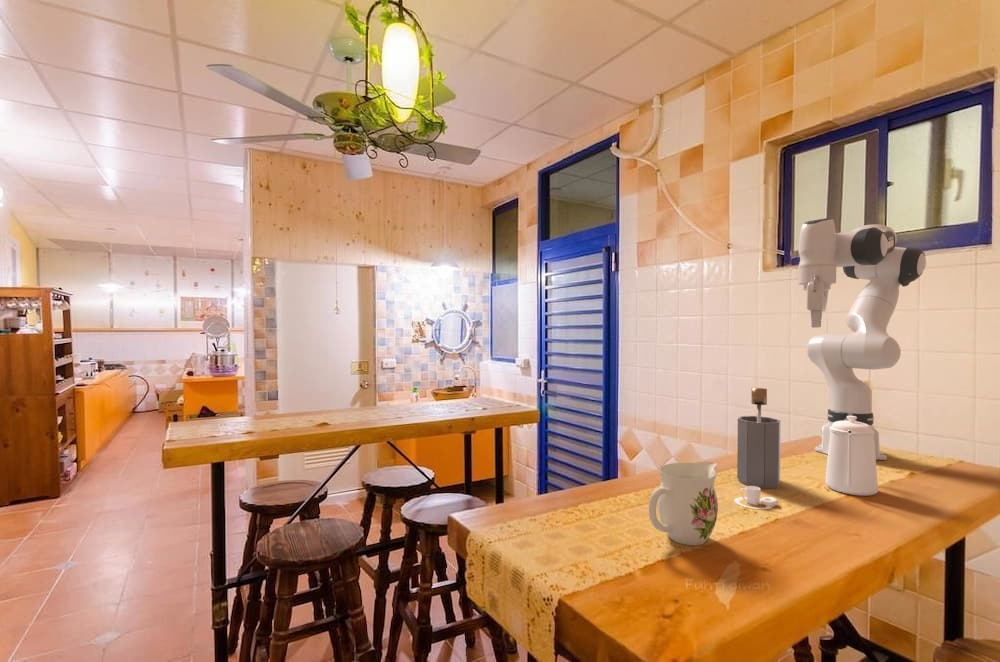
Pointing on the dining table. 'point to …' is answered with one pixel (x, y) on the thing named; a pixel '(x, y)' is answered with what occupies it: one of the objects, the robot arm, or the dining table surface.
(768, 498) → the teacup and saucer
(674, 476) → the pitcher
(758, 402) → the plunger
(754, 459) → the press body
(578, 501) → the dining table surface
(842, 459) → the coffeepot
